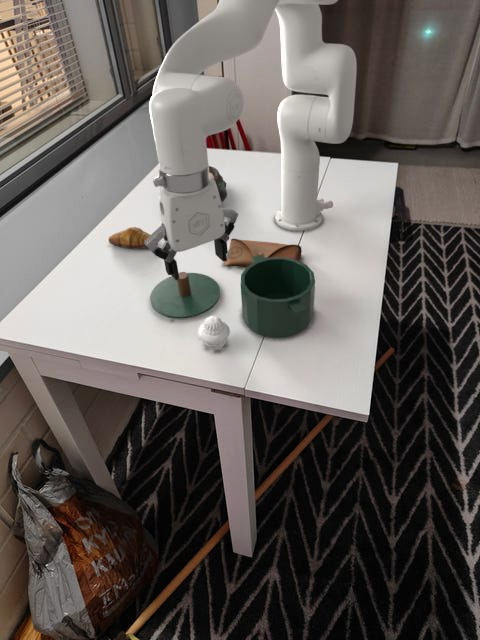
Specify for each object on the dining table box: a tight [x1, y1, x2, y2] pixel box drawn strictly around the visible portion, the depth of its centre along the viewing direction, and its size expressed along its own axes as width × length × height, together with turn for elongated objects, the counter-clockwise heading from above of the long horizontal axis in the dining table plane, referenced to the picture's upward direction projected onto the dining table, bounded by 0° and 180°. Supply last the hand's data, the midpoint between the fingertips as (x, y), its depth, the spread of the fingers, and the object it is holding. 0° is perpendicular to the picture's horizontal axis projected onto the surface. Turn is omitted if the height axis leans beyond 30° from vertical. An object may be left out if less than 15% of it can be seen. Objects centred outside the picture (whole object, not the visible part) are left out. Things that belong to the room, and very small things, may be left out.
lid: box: [149, 271, 221, 320], centre depth 101 cm, size 16×16×6 cm
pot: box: [240, 254, 316, 339], centre depth 94 cm, size 15×20×10 cm
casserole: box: [209, 165, 228, 204], centre depth 134 cm, size 25×19×8 cm
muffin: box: [197, 315, 231, 351], centre depth 89 cm, size 6×6×7 cm
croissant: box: [108, 226, 159, 250], centre depth 119 cm, size 14×7×5 cm, turn 78°
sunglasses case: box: [223, 237, 303, 269], centre depth 111 cm, size 18×7×7 cm
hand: (198, 266), depth 83 cm, fingers open, 9 cm apart
